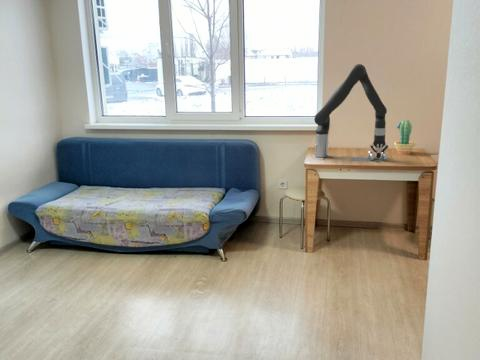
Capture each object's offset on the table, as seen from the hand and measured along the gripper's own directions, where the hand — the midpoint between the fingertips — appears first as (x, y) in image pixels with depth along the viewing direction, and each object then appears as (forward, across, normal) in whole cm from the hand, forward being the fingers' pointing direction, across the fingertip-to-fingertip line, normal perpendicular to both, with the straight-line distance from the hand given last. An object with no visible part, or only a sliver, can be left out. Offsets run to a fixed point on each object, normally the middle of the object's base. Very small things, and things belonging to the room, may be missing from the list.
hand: (378, 158), depth 318 cm
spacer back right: (+1, +4, +4) cm, 6 cm away
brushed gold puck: (+1, -3, 0) cm, 4 cm away
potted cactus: (+2, +22, +24) cm, 33 cm away
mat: (+1, -8, 0) cm, 8 cm away
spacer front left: (+1, -5, -4) cm, 7 cm away
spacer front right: (+1, +4, -4) cm, 6 cm away
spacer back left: (+1, -5, +4) cm, 7 cm away
